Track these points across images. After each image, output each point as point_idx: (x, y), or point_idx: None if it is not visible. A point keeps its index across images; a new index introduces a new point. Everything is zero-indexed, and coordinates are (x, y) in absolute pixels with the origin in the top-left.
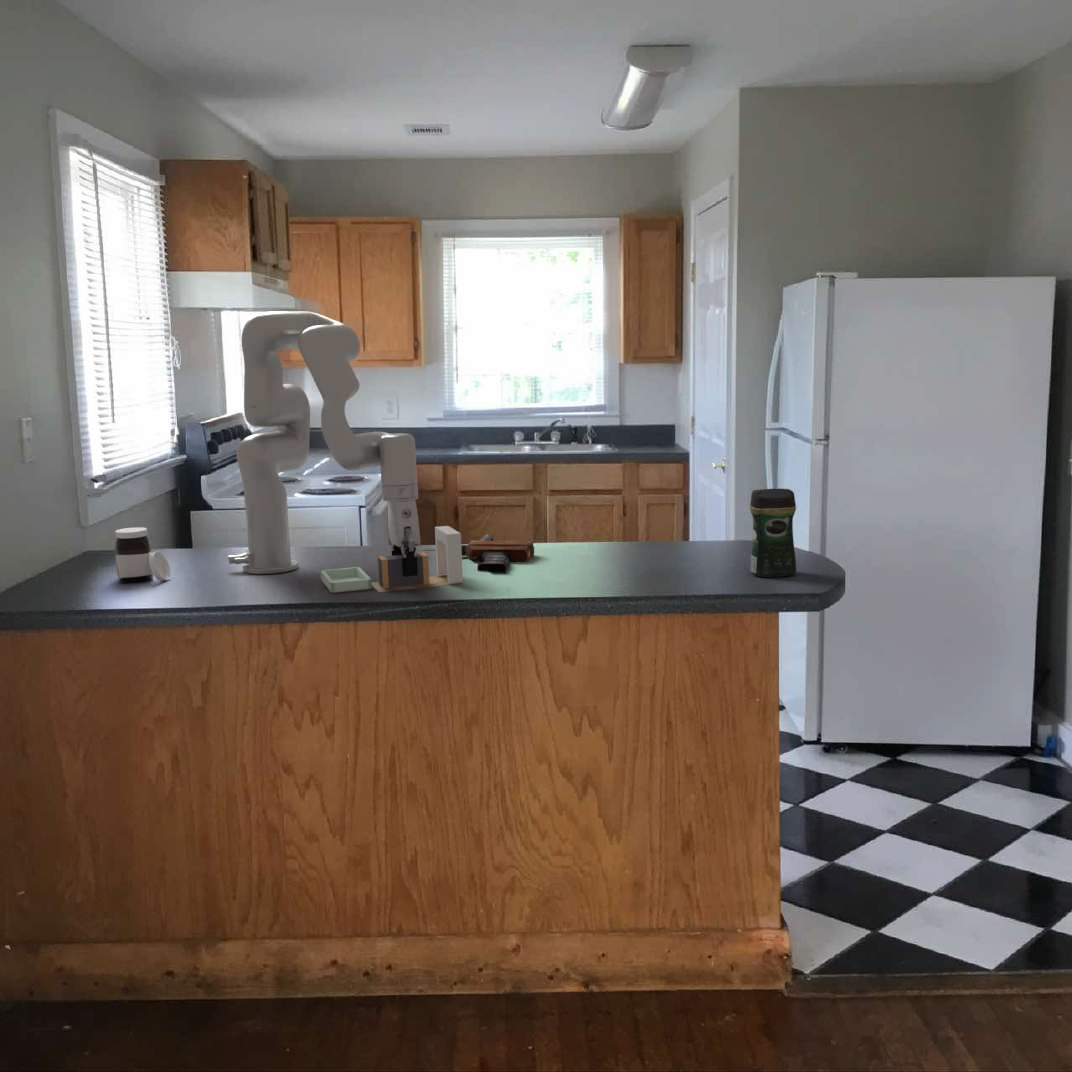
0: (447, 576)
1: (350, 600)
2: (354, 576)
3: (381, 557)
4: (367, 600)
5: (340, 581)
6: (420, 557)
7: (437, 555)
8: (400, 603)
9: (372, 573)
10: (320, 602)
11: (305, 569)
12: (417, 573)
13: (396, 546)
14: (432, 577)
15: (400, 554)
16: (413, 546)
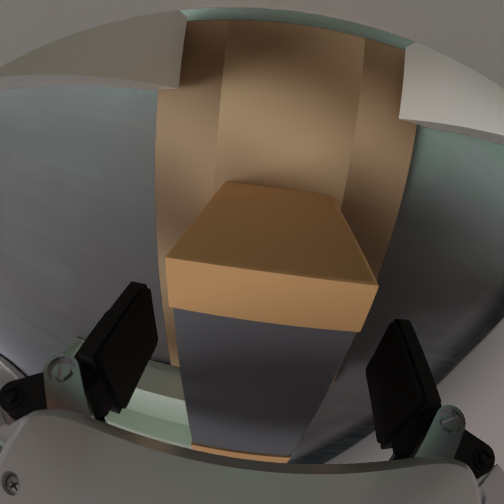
0: (413, 119)
1: (336, 425)
2: None
3: (222, 455)
4: (369, 406)
5: (138, 398)
6: (349, 339)
7: (114, 77)
8: (462, 356)
9: (32, 288)
10: (307, 450)
11: (13, 358)
12: (410, 324)
13: (96, 414)
14: (185, 124)
15: (123, 367)
16: (496, 471)
